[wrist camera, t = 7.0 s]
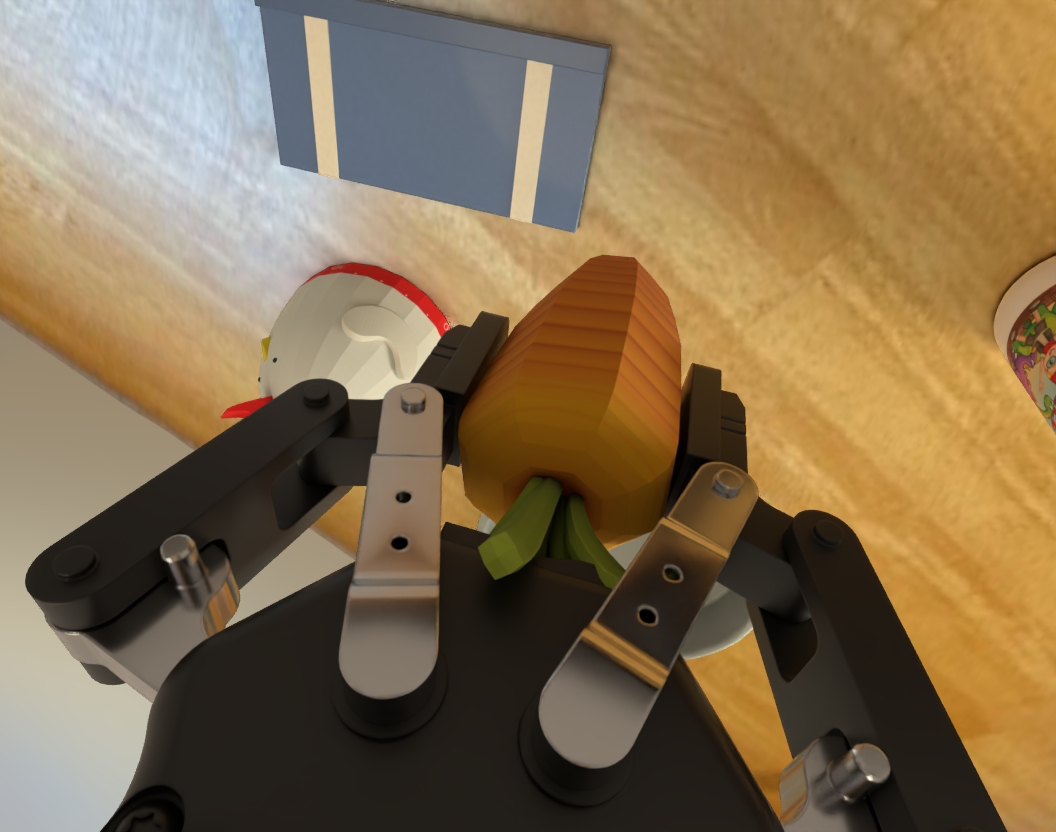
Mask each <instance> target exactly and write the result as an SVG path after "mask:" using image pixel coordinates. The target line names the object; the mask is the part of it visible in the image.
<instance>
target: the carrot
mask: <svg viewBox="0 0 1056 832" xmlns="http://www.w3.org/2000/svg"><path fill="white" fill-rule="evenodd" d="M680 402H681V343H680V339H679V335H678V330H677V326H676V322H675V318H674V315H673V312H672V309H671V306H670V302H669V299H668V296H667V295H666V294H665V293H664V291H663V290H662V289H661V288H660V286H659V285H658V284H657V282H656V281H655V280H654V279H653V278H652V277H651V275H650V274H649V273H648V272H647V271H646V270H645V269H644V268H643V266H642V265H641V264H640V263H639V262H638V261H637V260H636V259H635V258H633V257H621V256H609V255H601V256H597V257H594V258H590V259H589V260H588V261H587V262H586V263H584V264H583V265H582V266H581V267H579V268H578V269H577V270H576V271H575V272H573V273H572V274H571V275H570V276H569V277H567V278H566V279H565V280H564V281H563V282H561V283H560V284H559V285H558V286H557V287H555V288H554V289H553V290H552V291H551V292H550V293H549V294H548V295H547V296H545V297H544V298H543V299H542V300H541V301H540V302H539V303H538V304H537V305H536V306H535V307H534V308H533V309H532V310H531V311H530V312H529V313H528V314H527V315H526V316H525V317H524V318H523V319H522V320H521V321H520V322H519V323H518V324H517V325H516V326H515V328H514V329H513V331H512V332H511V334H510V335H509V337H508V338H507V340H506V341H505V343H504V344H503V346H502V347H501V349H500V350H499V352H498V353H497V355H496V356H495V358H494V359H493V361H492V363H491V364H490V366H489V367H488V369H487V371H486V373H485V374H484V376H483V378H482V379H481V381H480V383H479V384H478V386H477V388H476V389H475V391H474V393H473V394H472V396H471V398H470V400H469V401H468V403H467V405H466V407H465V408H464V410H463V412H462V415H461V418H460V421H459V430H458V439H459V448H460V456H461V464H462V473H463V481H464V490H465V496H466V497H467V498H468V499H469V501H470V502H471V503H472V504H473V505H474V506H475V507H476V508H477V509H479V510H480V511H481V512H482V513H483V514H485V515H486V516H487V517H488V518H489V519H490V520H492V521H493V522H494V523H495V524H496V525H495V527H494V528H493V529H492V531H491V532H490V533H489V534H490V535H491V536H490V537H489V538H488V539H487V540H486V541H485V542H483V543H482V544H481V545H480V546H479V547H478V549H479V552H480V555H481V557H482V560H483V562H484V565H485V566H486V568H487V569H488V571H489V572H490V573H491V575H492V576H493V578H494V579H495V580H496V579H499V578H501V577H504V576H506V575H509V574H511V573H514V572H517V571H519V570H520V569H521V568H522V567H523V566H524V565H526V564H527V563H528V562H529V561H530V560H531V559H532V558H533V557H542V558H557V559H572V560H581V561H585V562H588V563H591V564H595V567H596V569H597V572H598V575H599V577H600V579H601V580H602V582H603V583H604V585H605V586H606V587H609V588H611V589H612V590H613V588H614V587H615V585H616V584H617V583H618V581H619V580H620V578H621V577H622V575H623V574H624V572H625V571H626V570H625V569H624V568H623V567H622V566H621V565H620V564H619V563H618V562H617V561H616V559H615V558H614V557H613V556H612V555H611V554H610V553H609V552H608V550H610V549H613V548H615V547H617V546H619V545H622V544H624V543H626V542H629V541H631V540H633V539H636V538H638V537H640V536H643V535H645V534H647V533H650V532H652V531H653V529H654V528H655V526H656V525H657V523H658V522H659V520H660V519H661V518H662V517H663V516H664V515H665V511H666V506H667V501H668V496H669V491H670V485H671V480H672V474H673V469H674V463H675V458H676V453H677V447H678V442H679V423H680Z"/></svg>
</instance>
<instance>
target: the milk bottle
mask: <svg viewBox="0 0 1056 832" xmlns="http://www.w3.org/2000/svg"><path fill="white" fill-rule="evenodd" d="M994 336H995V340H996V342H997V344H998V346H999V348H1000V350H1001V352H1002V353H1003V355H1004V357H1005V359H1006V360H1007V362H1008V363H1009V365H1010V366H1011V368H1012V369H1013V371H1014V372H1015V374H1016V375H1017V377H1018V378H1019V380H1020V382H1021V383H1022V385H1023V386H1024V388H1025V389H1026V391H1027V392H1028V394H1029V395H1030V397H1031V398H1032V400H1033V401H1034V403H1035V404H1036V406H1037V407H1038V409H1039V410H1040V412H1041V413H1042V415H1043V416H1044V418H1045V419H1046V421H1047V422H1048V424H1049V425H1050V426H1051V428H1052V429H1053V431H1054V432H1055V434H1056V255H1055V256H1053V257H1051V258H1050V259H1048V260H1046V261H1043V262H1041V263H1039V264H1038V265H1037V266H1035V267H1034V268H1032V269H1031V270H1029V271H1028V272H1026V273H1025V274H1024V275H1023V276H1022V277H1021V278H1019V279H1018V280H1017V281H1016V282H1015V283H1014V284H1013V285H1012V286H1011V288H1010V289H1009V290H1008V291H1007V292H1006V294H1005V295H1004V297H1003V299H1002V301H1001V303H1000V304H999V306H998V309H997V312H996V315H995V319H994Z"/></svg>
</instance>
